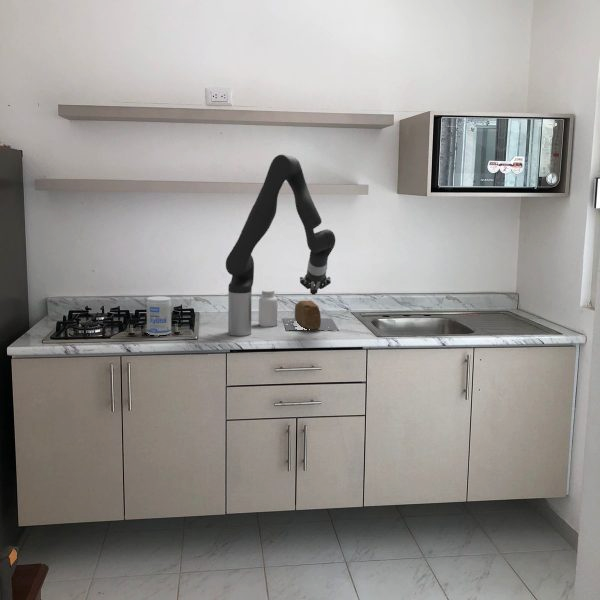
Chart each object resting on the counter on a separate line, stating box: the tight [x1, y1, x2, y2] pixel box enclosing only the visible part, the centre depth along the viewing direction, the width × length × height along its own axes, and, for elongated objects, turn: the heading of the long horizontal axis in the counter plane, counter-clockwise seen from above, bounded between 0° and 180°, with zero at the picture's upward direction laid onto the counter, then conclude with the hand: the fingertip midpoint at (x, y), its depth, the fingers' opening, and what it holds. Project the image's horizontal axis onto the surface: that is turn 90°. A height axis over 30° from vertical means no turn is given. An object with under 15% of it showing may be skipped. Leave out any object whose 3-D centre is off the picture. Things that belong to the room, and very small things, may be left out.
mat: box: [282, 317, 340, 332], centre depth 319 cm, size 22×24×1 cm
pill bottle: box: [258, 289, 278, 328], centre depth 316 cm, size 8×8×15 cm
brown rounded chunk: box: [294, 300, 322, 330], centre depth 314 cm, size 11×8×20 cm
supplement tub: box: [146, 295, 172, 337], centre depth 295 cm, size 10×10×15 cm
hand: (313, 292), depth 305 cm, fingers closed
